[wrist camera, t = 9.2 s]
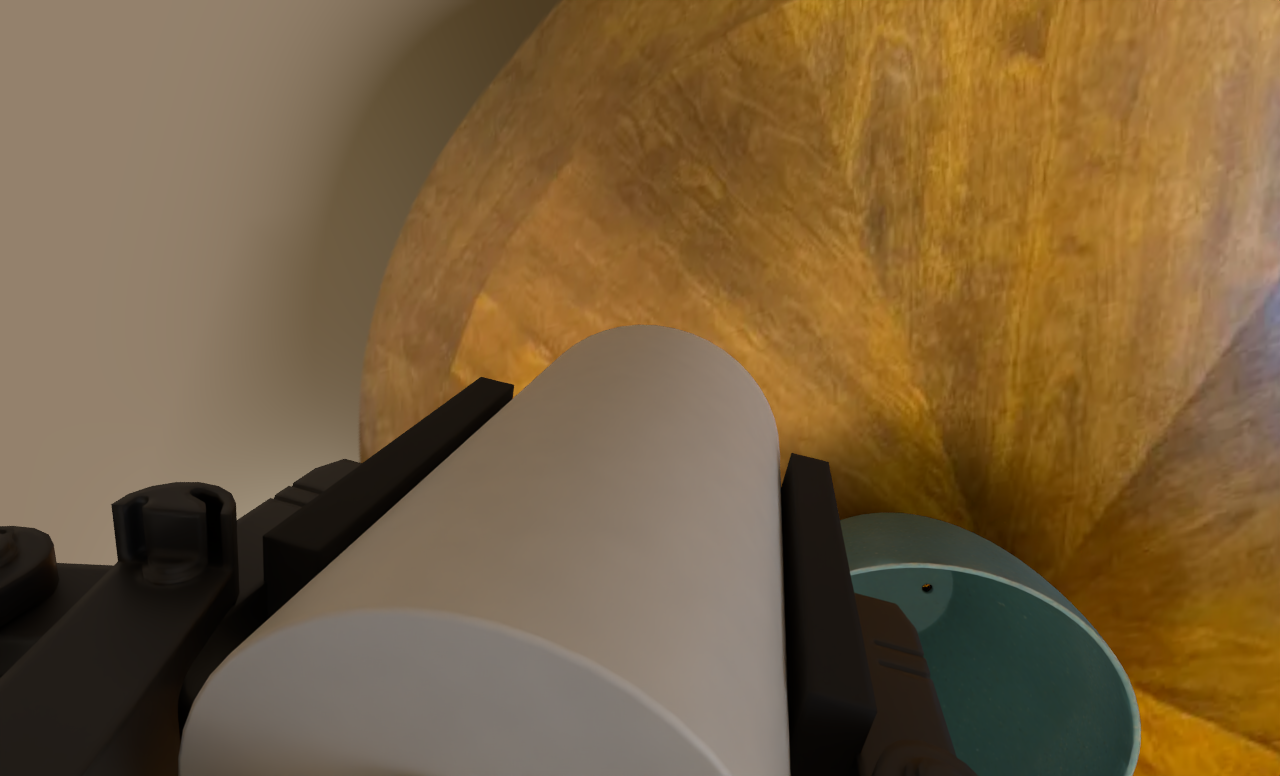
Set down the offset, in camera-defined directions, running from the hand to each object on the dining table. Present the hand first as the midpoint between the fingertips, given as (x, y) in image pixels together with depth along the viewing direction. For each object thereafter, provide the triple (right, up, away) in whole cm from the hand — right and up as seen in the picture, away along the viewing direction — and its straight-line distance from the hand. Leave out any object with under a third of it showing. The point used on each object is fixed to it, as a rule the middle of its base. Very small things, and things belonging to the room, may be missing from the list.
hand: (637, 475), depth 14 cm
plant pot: (+15, -10, +28) cm, 33 cm away
